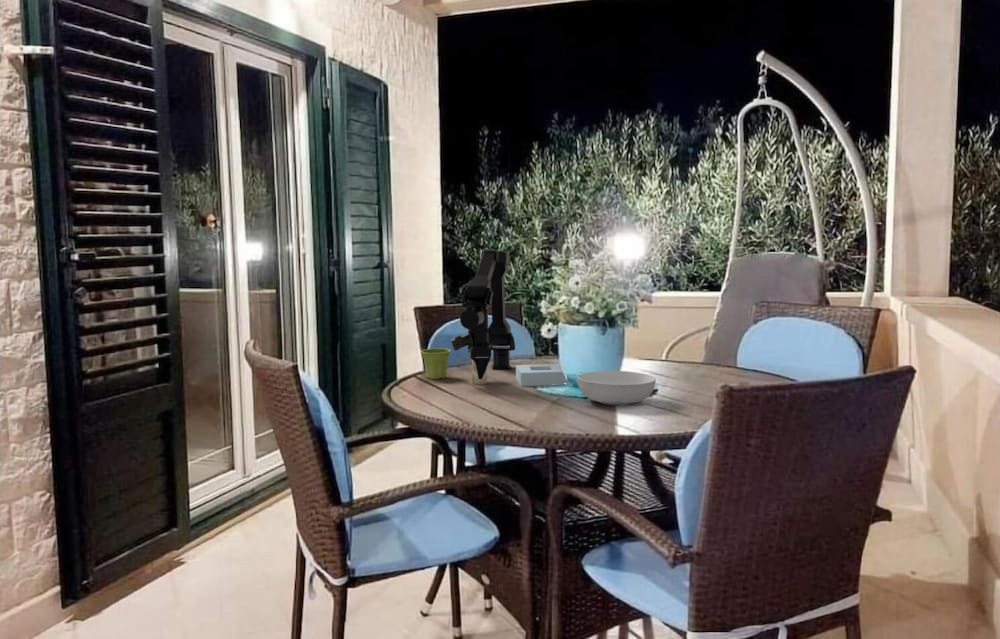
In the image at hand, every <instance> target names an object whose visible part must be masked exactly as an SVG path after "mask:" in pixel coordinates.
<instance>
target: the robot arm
mask: <svg viewBox="0 0 1000 639" xmlns="http://www.w3.org/2000/svg"><path fill="white" fill-rule="evenodd" d="M480 256H481V258H480V262H479V264H478V267H477V271H476V274H475V276H474V277H473V278H472V279H470V280H469V282H468V283H467V285H466V287H465V289H464V293H463V299H462V304H461V306H462V308H466V310H463V312H462V313H461V315H460V317H459V322H460V324H461V326H462V327H463V328H465V329H467V333H464V334H461V335H460V334H459V335H457V336H455V337H453V338H451V339H450V343H451V344H452V347H453V350H454V351H458V350H460V349H461V348H464V347H467V351H468V354H469V358H470V359H471V361H472V360H473V361H474V362H475V363H476V368H477V374H478V378H479V379H482V378H483V376H484V373H485V370H486V368H487V367H488V366H489V362H490V360H491V358H492V364H490V368H491V369H492V370H505V369H510V370H511V369H512V366H511V363H510V356H511V355H510V351H511V352H512V351H515V350H516V343H515V342H516V341H515V337H514V336H513V335H514V334H513V333H512V328H511V326H510V324H509V322H508V321H507V319H506V300H505V299H506V298H505V297H506V294H505V275H506V274H507V272H508V271H509V265H510V262H511V256H510V254H509V253H508V252H507V251H506V250H497V249H484V250H482V251H481V255H480ZM490 305H491V306H490ZM489 306H490V307H491V322H490V324H489Z"/></svg>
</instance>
